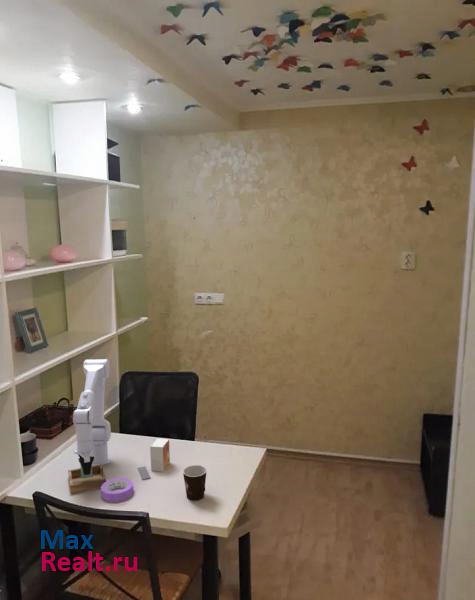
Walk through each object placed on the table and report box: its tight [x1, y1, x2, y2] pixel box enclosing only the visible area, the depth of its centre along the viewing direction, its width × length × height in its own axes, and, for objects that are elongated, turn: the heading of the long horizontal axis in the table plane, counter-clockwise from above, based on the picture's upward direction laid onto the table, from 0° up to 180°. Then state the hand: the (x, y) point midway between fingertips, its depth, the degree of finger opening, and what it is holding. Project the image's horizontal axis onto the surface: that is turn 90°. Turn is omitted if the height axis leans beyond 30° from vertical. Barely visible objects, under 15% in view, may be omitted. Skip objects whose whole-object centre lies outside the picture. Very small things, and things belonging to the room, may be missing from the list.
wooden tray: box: [67, 464, 107, 495], centre depth 187 cm, size 13×13×4 cm
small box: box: [149, 438, 171, 472], centre depth 199 cm, size 8×6×10 cm
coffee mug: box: [182, 464, 207, 502], centre depth 174 cm, size 12×9×10 cm
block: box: [79, 463, 93, 479], centre depth 186 cm, size 4×4×6 cm
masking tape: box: [100, 477, 134, 503], centre depth 178 cm, size 12×12×4 cm
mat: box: [136, 466, 151, 481], centre depth 192 cm, size 10×10×1 cm
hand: (86, 471), depth 186 cm, fingers closed on block, 4 cm apart
